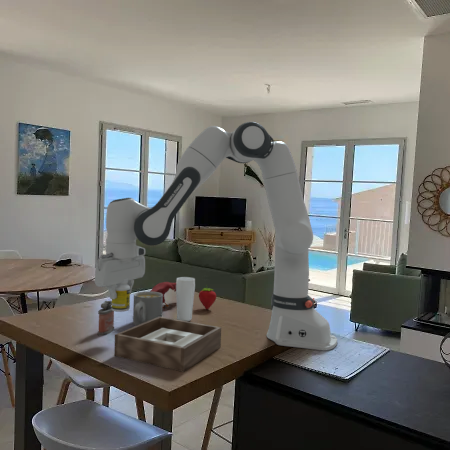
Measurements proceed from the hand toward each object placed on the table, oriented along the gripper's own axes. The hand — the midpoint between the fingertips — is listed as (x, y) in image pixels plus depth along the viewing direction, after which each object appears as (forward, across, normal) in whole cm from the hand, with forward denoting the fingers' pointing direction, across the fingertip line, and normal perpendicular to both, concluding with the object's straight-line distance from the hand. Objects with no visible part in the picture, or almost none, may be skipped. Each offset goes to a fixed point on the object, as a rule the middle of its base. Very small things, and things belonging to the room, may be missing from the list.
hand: (120, 296), depth 138 cm
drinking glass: (+14, +30, -5) cm, 33 cm away
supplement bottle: (+4, 0, 0) cm, 4 cm away
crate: (+14, -1, -18) cm, 23 cm away
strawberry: (+14, +48, -5) cm, 50 cm away
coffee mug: (+14, +18, +4) cm, 23 cm away
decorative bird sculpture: (+14, +40, +12) cm, 44 cm away
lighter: (+13, +4, +9) cm, 16 cm away
